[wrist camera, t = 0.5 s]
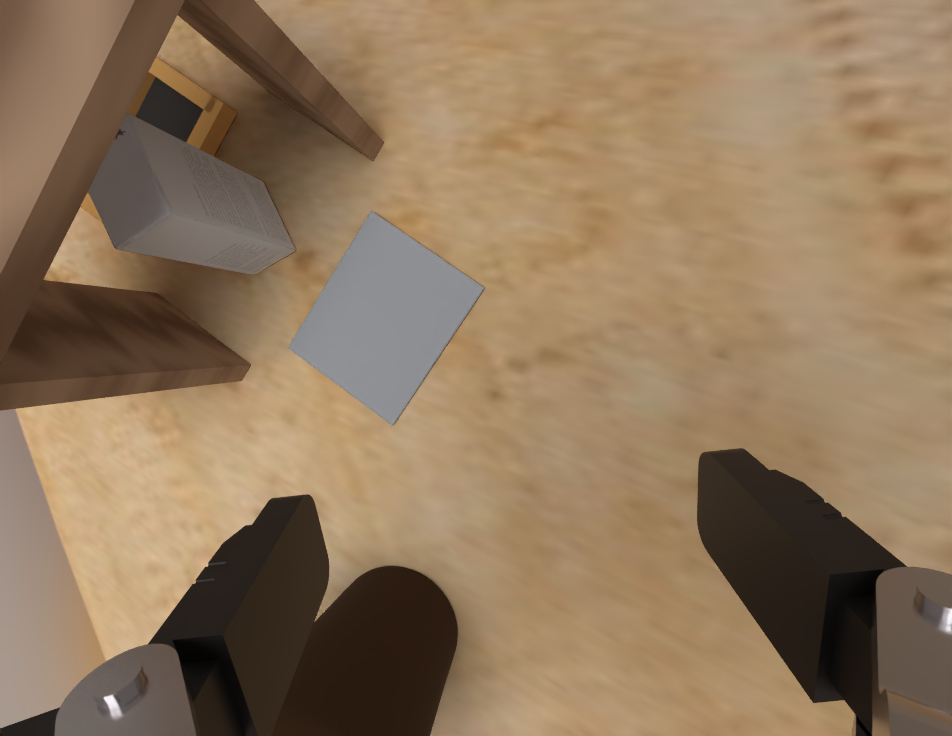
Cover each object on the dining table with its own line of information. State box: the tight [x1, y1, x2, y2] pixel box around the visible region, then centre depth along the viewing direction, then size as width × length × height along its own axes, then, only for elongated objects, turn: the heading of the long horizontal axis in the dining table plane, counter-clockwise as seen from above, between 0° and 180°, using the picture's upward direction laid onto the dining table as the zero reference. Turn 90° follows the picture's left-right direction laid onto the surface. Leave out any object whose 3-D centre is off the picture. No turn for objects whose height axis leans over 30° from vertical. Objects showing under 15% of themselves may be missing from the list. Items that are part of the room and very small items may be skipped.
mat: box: [288, 211, 485, 426], centre depth 36 cm, size 10×12×1 cm
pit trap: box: [81, 57, 237, 223], centre depth 38 cm, size 8×13×2 cm, turn 146°
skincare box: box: [88, 113, 295, 275], centre depth 31 cm, size 6×4×12 cm
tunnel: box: [0, 0, 384, 410], centre depth 28 cm, size 11×21×20 cm, turn 146°
